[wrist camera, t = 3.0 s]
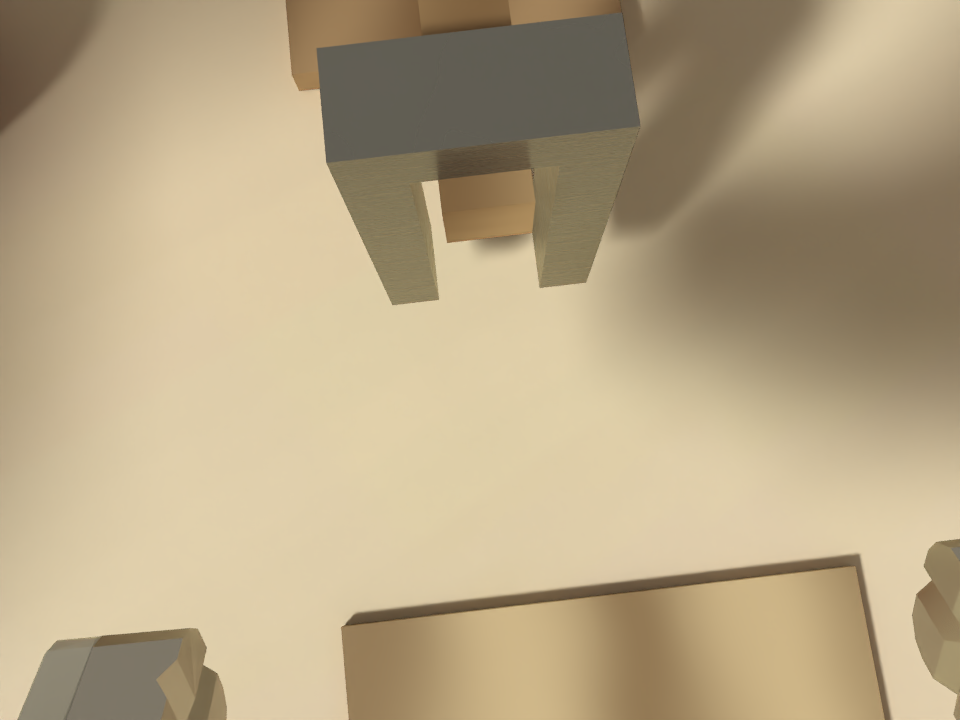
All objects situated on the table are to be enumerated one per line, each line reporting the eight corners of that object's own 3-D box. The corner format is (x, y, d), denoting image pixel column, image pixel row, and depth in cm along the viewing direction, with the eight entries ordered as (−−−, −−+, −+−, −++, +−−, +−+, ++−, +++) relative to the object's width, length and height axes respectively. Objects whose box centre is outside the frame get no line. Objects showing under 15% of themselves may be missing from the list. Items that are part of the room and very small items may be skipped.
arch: (392, 305, 23) (327, 163, 14) (385, 231, 23) (316, 47, 15) (585, 282, 23) (640, 126, 14) (575, 209, 23) (622, 12, 15)
